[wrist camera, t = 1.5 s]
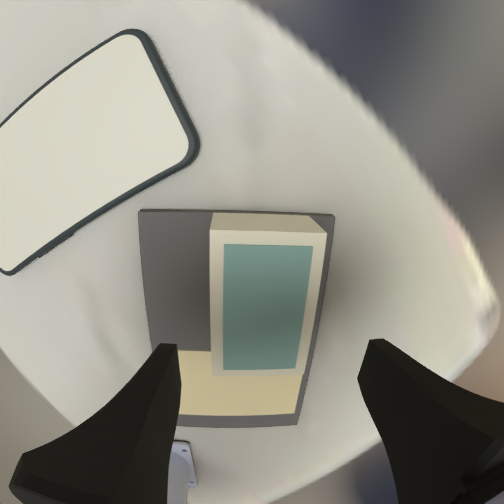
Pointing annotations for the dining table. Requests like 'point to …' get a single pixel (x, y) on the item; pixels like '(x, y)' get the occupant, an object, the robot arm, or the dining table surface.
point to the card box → (263, 292)
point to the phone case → (88, 145)
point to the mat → (198, 323)
